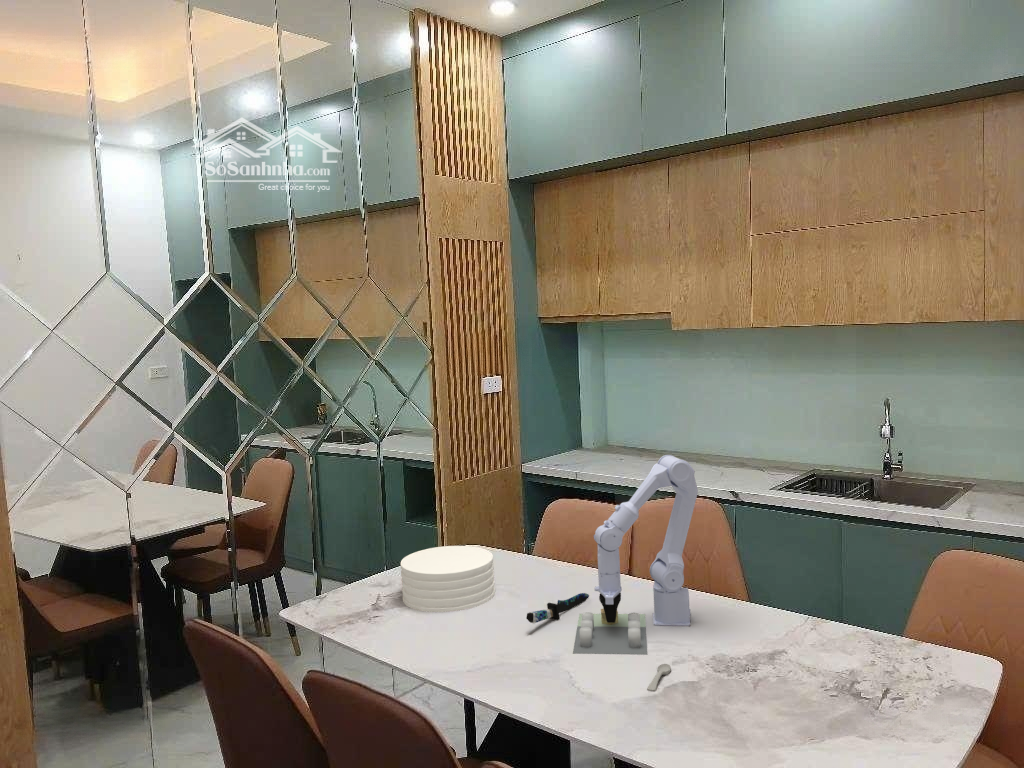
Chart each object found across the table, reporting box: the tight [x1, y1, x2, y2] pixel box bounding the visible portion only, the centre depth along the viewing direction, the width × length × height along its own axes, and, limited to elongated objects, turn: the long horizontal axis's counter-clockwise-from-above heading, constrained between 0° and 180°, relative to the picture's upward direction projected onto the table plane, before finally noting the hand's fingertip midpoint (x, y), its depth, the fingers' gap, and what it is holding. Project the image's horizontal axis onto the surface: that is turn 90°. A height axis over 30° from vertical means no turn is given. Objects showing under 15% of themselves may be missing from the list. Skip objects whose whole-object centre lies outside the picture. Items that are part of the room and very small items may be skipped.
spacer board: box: [572, 612, 649, 656], centre depth 199 cm, size 18×26×4 cm
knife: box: [526, 592, 590, 624], centre depth 213 cm, size 31×3×5 cm, turn 140°
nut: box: [600, 607, 619, 625], centre depth 207 cm, size 4×5×3 cm
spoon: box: [646, 663, 672, 692], centre depth 173 cm, size 3×12×2 cm, turn 152°
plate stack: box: [400, 545, 496, 613], centre depth 234 cm, size 28×28×12 cm
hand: (611, 621), depth 203 cm, fingers closed
